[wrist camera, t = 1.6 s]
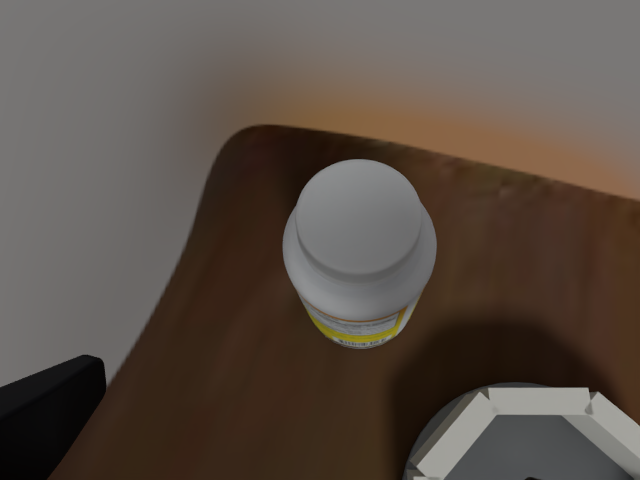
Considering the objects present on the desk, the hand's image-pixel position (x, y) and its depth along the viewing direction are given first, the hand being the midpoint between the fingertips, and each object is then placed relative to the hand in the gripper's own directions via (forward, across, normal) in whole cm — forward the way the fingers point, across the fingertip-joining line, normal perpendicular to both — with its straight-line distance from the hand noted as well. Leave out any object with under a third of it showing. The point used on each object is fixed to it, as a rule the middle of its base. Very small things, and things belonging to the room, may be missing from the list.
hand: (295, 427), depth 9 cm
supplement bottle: (+14, 0, +5) cm, 14 cm away
